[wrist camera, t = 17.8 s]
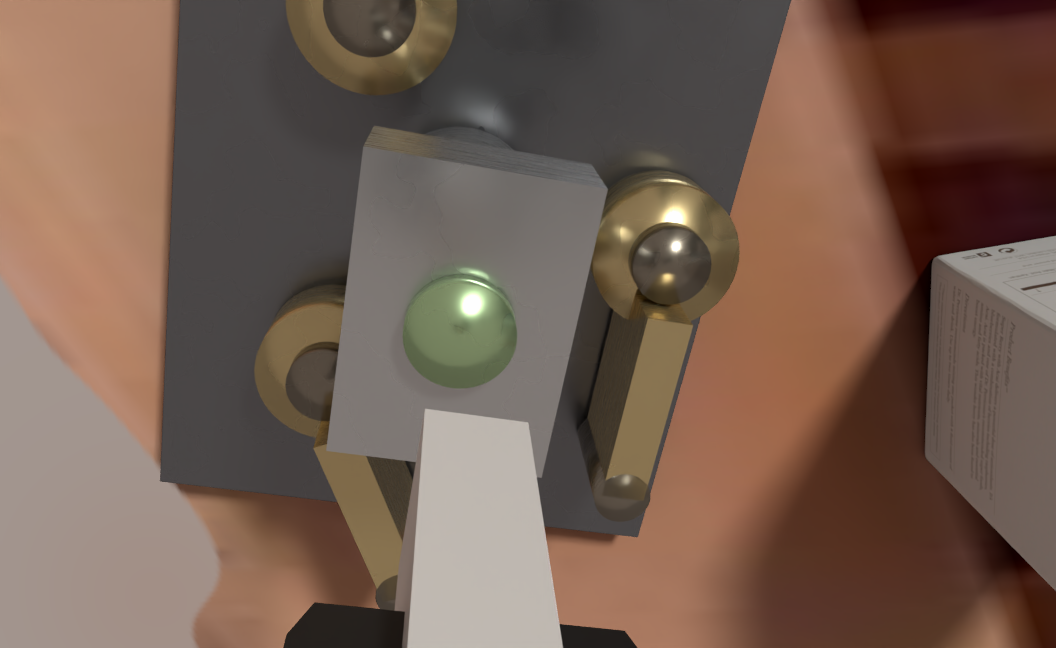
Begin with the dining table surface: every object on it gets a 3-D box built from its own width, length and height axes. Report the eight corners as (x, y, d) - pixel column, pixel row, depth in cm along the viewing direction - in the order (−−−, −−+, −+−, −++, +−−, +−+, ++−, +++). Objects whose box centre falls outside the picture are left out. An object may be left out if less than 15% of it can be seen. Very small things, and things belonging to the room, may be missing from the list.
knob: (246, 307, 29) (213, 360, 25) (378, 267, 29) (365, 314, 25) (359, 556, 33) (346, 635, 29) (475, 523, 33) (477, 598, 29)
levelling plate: (207, -280, 24) (-22, -503, 13) (812, -136, 27) (1082, -213, 15) (172, 459, 33) (18, 727, 21) (630, 514, 35) (714, 780, 24)
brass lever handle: (600, 159, 28) (623, 190, 24) (736, 183, 28) (779, 218, 25) (536, 446, 32) (547, 513, 28) (656, 462, 32) (683, 529, 28)
